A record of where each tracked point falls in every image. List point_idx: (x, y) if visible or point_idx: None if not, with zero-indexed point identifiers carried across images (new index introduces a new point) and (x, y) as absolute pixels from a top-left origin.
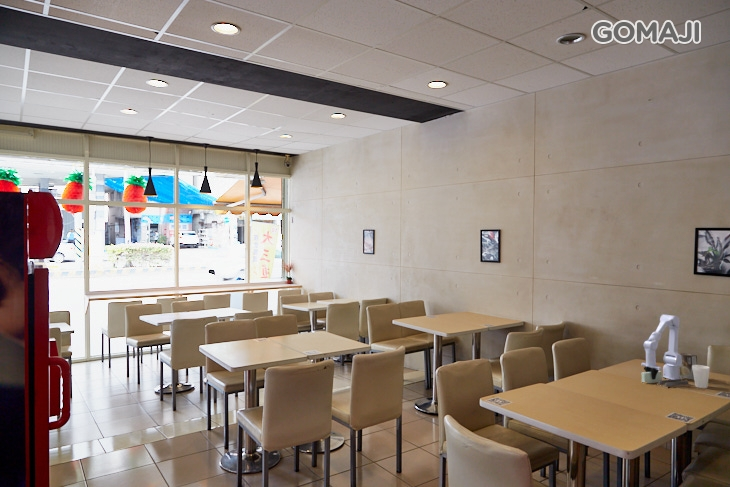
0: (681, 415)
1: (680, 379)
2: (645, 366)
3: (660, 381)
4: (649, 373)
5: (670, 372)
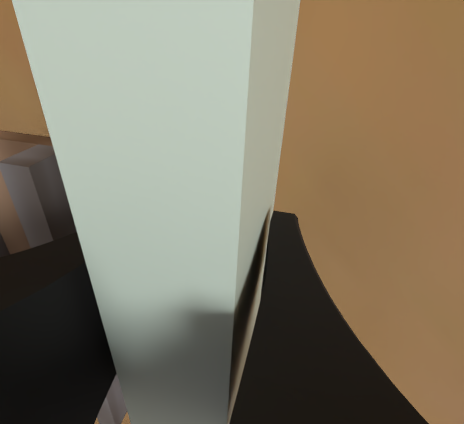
0: None
1: (98, 413)
2: None
3: (5, 178)
4: (89, 212)
5: None
